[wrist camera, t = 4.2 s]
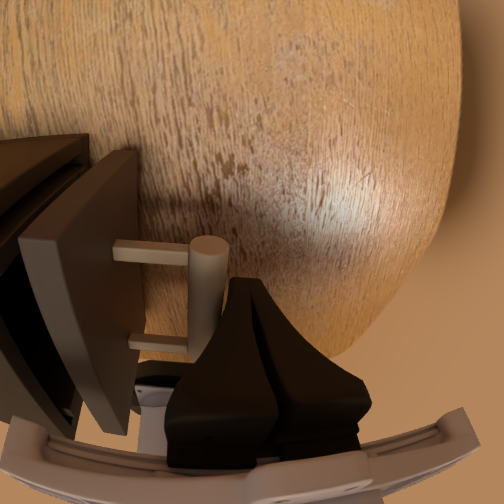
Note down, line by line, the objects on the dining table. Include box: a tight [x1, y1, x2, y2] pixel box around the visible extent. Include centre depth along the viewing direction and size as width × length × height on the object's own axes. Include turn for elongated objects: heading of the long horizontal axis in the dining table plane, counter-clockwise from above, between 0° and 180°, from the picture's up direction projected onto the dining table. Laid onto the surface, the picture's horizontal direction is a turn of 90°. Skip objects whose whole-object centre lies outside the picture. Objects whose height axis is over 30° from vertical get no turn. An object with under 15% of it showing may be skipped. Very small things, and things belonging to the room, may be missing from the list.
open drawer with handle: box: [0, 150, 229, 436], centre depth 11 cm, size 18×10×8 cm, turn 81°
